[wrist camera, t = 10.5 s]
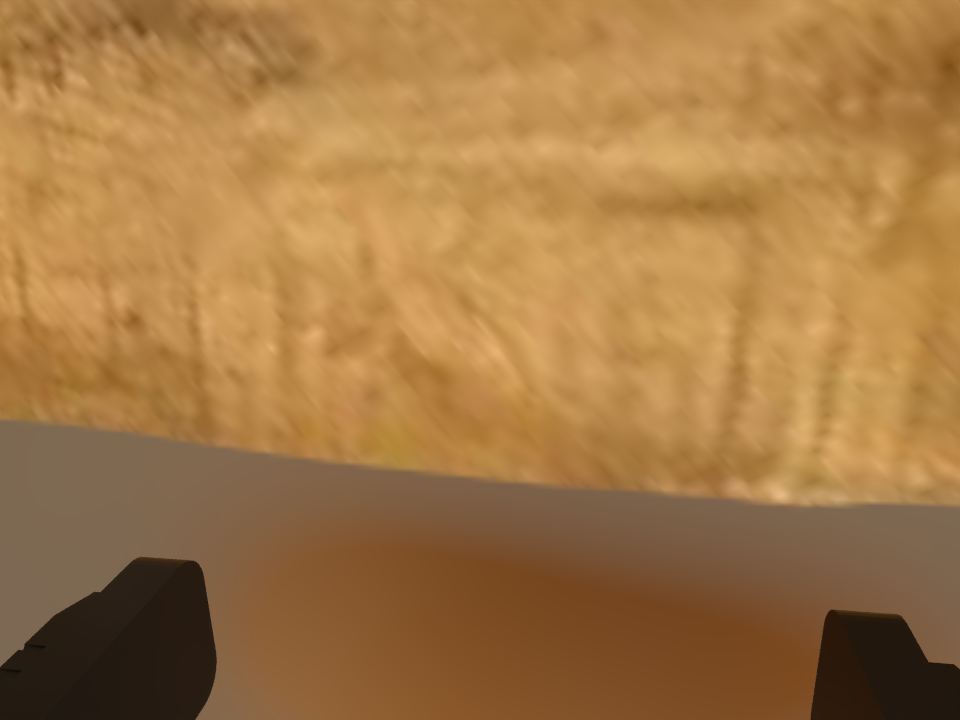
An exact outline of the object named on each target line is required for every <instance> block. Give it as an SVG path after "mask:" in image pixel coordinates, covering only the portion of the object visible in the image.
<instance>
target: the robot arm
mask: <svg viewBox="0 0 960 720" xmlns="http://www.w3.org/2000/svg"><path fill="white" fill-rule="evenodd" d="M216 659H217V658H216V650H215V643H214V637H213V630H212V624H211V618H210V612H209V606H208V600H207V593H206V587H205V581H204V576H203V572H202V569H201V567H200V565H199V564H198V563H197V562H194V561H189V560H177V559H162V558H149V557H139V558H137V559H135V560H133V561H132V562H131V563H130V564H129V565H128V566H127V567H126V568H125V569H124V570H123V571H122V572H120V573H119V574H118V576H116V578H114V579H113V580H112V582H111V583H109V584H108V585H107V586H106V587H105V589H103V590H102V591H101V592H94V593H92V594H90V595H89V596H87V597H85V598H83V599H82V600H80V601H78V602H77V603H75V604H73V605H71V606H70V607H68V608H66V609H65V610H63V611H61V612H60V613H58V614H56V615H55V616H53V618H51V619H50V620H49V621H48V622H47V623H46V624H45V625H44V626H43V627H42V628H41V629H40V630H39V631H38V632H37V633H36V634H35V635H34V636H32V637H31V639H30V640H28V641H27V642H26V643H25V646H24V649H23V650H18V651H17V652H16V653H15V654H14V655H13V656H11V657H10V658H9V659H8V660H7V661H6V662H5V663H4V664H3V665H2V666H1V667H0V720H195V719H196V718H197V716H198V715H199V713H200V711H201V710H202V709H203V707H204V705H205V704H206V702H207V700H208V697H209V695H210V693H211V690H212V687H213V683H214V679H215V673H216V663H217V660H216ZM811 720H960V669H959V668H958V667H956V666H955V665H954V664H943V663H931V662H928V660H927V659H926V657H925V655H924V653H923V652H922V650H921V648H920V646H919V644H918V643H917V641H916V639H915V637H914V635H913V634H912V632H911V630H910V628H909V627H908V625H907V623H906V622H905V620H904V619H903V618H902V617H901V616H900V615H898V614H885V613H871V612H856V611H844V610H830V611H829V612H828V614H827V616H826V619H825V622H824V627H823V634H822V642H821V649H820V655H819V662H818V668H817V676H816V682H815V689H814V696H813V703H812V710H811Z"/></svg>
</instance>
